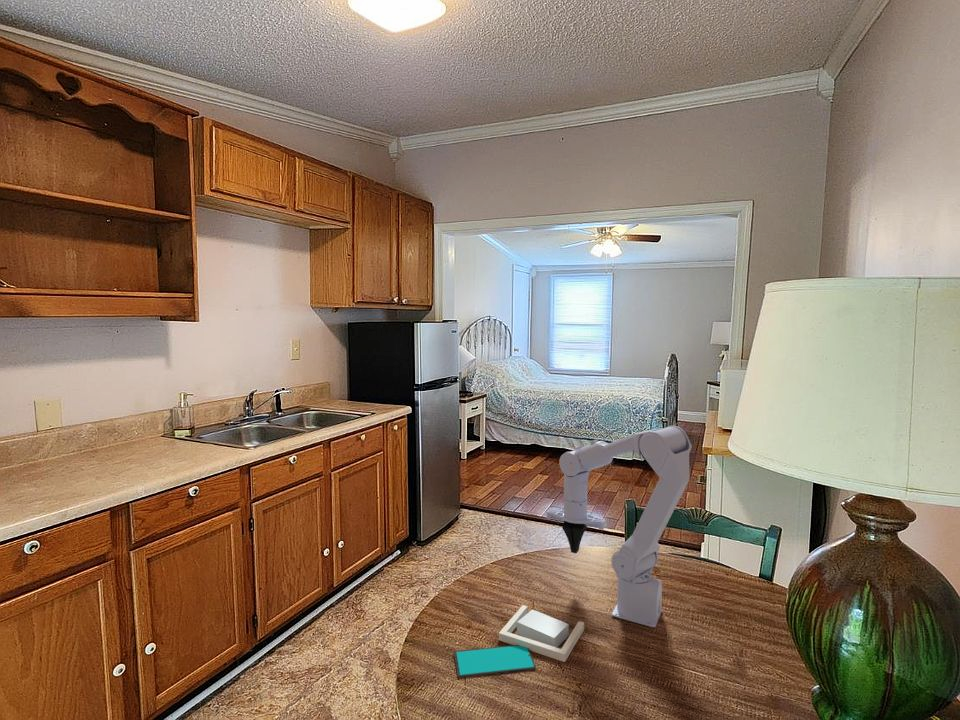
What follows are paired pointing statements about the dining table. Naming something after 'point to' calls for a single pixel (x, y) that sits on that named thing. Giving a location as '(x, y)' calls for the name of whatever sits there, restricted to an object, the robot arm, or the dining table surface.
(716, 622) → the dining table surface
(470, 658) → the smartphone
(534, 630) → the light gray box
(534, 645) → the cream u-shaped bracket
